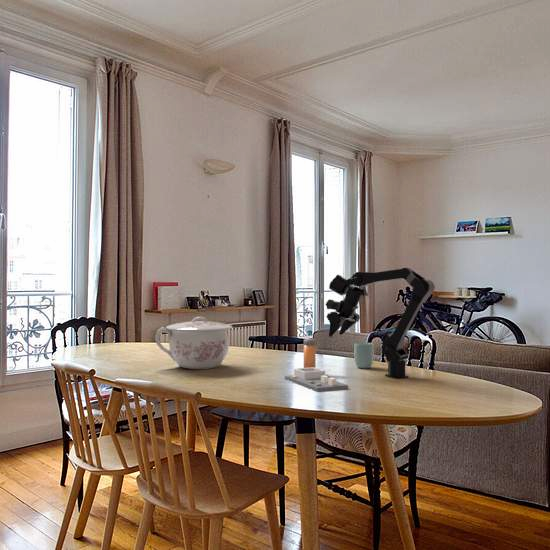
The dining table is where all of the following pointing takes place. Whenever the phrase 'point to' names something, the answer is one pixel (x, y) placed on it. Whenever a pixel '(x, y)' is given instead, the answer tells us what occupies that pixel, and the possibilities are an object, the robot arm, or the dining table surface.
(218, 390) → the dining table surface
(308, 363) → the capped spray can
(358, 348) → the cup
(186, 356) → the chamber pot
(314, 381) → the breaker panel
